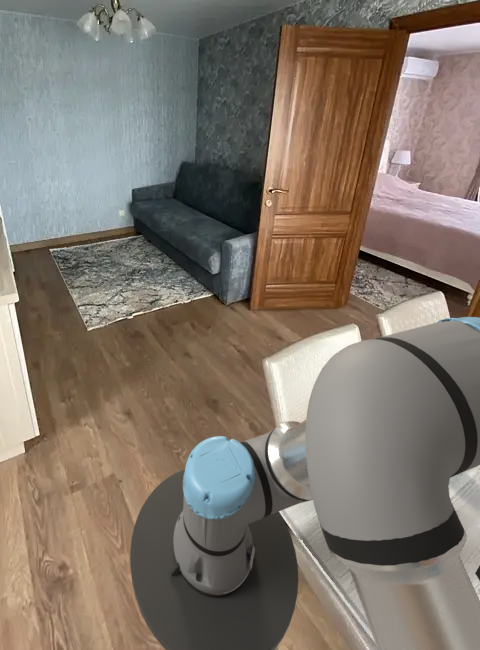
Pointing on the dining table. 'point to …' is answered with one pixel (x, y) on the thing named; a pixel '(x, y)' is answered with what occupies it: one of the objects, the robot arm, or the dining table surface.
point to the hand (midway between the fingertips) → (431, 564)
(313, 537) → the dining table surface
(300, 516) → the dining table surface
